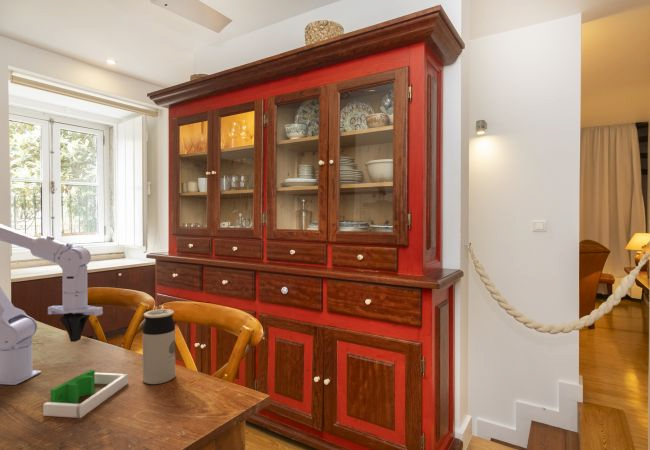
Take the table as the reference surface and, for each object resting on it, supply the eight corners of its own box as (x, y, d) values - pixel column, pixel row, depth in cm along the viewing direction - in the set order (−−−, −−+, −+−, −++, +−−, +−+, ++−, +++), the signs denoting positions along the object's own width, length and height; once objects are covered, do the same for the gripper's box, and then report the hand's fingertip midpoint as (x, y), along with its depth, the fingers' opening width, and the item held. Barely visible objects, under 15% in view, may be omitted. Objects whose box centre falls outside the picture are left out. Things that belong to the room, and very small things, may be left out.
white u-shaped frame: (43, 415, 81) (43, 404, 81) (96, 381, 98) (96, 372, 98) (80, 417, 81) (80, 406, 81) (127, 383, 97) (127, 374, 97)
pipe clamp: (64, 411, 84) (64, 391, 84) (50, 409, 84) (50, 389, 84) (103, 388, 95) (103, 370, 95) (90, 386, 95) (90, 369, 95)
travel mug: (135, 383, 97) (135, 315, 97) (156, 370, 105) (156, 307, 105) (162, 386, 96) (162, 317, 95) (181, 374, 103) (181, 309, 103)
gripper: (38, 293, 98) (38, 344, 99) (89, 295, 97) (89, 346, 98) (59, 288, 105) (59, 335, 106) (107, 289, 104) (107, 337, 105)
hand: (75, 340), depth 102 cm, fingers closed
